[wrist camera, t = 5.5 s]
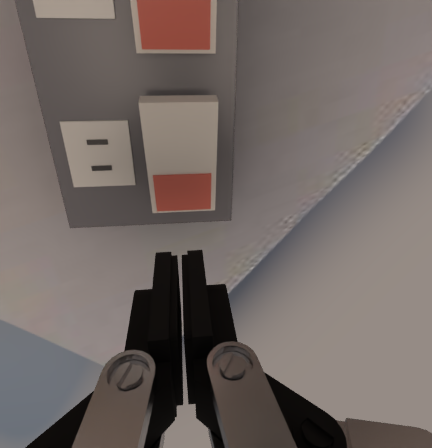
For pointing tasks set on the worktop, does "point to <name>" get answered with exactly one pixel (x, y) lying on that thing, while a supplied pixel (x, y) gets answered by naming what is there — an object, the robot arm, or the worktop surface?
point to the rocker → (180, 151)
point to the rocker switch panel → (119, 105)
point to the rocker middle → (174, 26)
